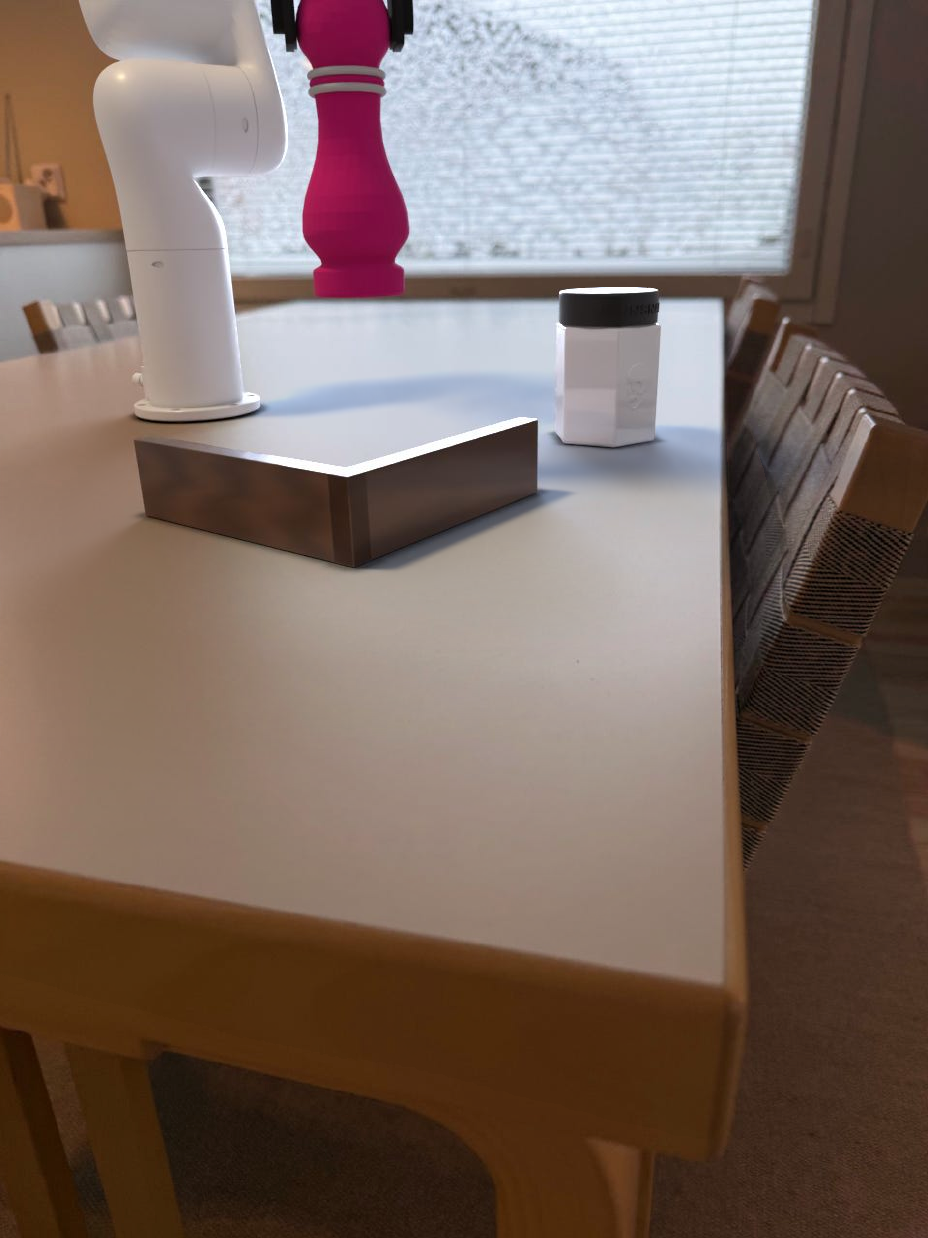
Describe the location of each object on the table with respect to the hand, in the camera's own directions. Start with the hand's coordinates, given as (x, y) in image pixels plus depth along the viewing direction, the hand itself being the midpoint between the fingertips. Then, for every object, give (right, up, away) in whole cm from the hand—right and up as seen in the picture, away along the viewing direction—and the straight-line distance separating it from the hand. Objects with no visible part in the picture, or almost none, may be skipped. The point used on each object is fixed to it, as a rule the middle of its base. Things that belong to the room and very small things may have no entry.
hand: (344, 44), depth 58 cm
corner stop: (0, -29, +3) cm, 29 cm away
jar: (+20, -21, +22) cm, 36 cm away
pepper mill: (0, -14, +6) cm, 15 cm away
